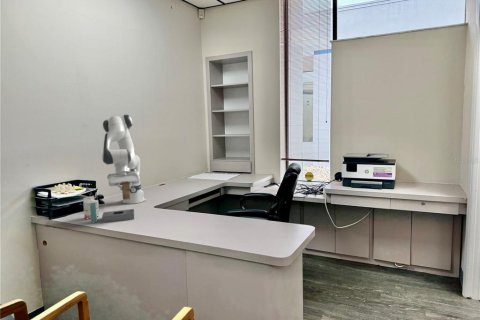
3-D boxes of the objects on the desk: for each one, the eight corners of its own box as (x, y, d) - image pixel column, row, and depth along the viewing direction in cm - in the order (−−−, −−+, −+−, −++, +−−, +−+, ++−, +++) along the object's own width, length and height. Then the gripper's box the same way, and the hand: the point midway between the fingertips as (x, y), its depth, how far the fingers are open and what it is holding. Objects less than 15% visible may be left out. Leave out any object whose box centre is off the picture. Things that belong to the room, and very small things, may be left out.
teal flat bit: (92, 220, 222) (91, 203, 221) (96, 220, 223) (95, 202, 221) (91, 223, 215) (89, 205, 214) (95, 222, 216) (94, 205, 215)
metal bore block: (104, 217, 227) (103, 212, 227) (134, 214, 233) (133, 209, 233) (102, 222, 216) (101, 216, 215) (134, 219, 222) (133, 213, 221)
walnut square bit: (122, 198, 224) (121, 181, 223) (128, 197, 226) (127, 180, 225) (123, 199, 221) (122, 182, 220) (129, 199, 223) (128, 181, 221)
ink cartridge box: (88, 219, 224) (87, 198, 222) (84, 218, 226) (82, 198, 225) (99, 216, 231) (98, 196, 229) (95, 215, 234) (93, 195, 232)
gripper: (107, 171, 223) (109, 188, 215) (137, 169, 232) (141, 184, 225) (106, 177, 227) (109, 193, 220) (136, 174, 237) (140, 190, 229)
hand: (125, 189), depth 222 cm, fingers closed on walnut square bit, 4 cm apart
